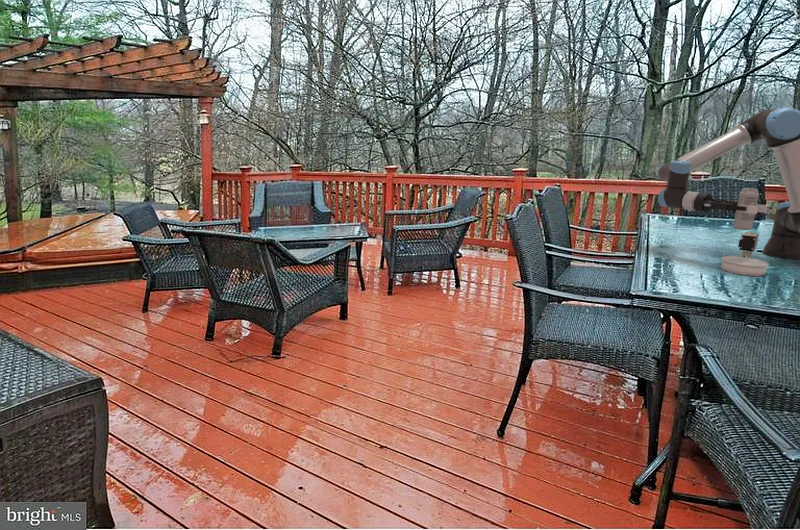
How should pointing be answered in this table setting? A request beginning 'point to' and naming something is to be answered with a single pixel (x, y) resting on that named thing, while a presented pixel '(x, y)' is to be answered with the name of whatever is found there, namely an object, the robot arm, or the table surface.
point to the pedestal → (744, 265)
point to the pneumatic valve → (748, 243)
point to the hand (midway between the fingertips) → (761, 209)
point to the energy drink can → (743, 219)
